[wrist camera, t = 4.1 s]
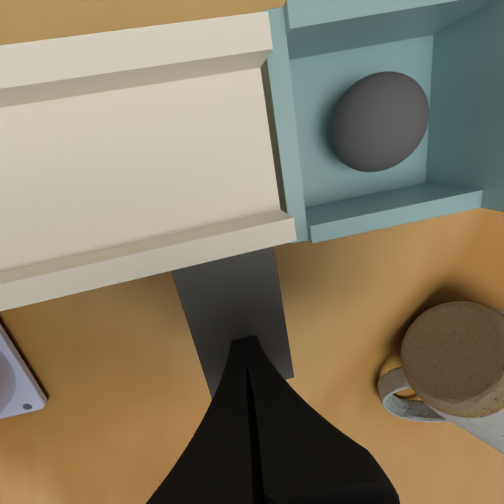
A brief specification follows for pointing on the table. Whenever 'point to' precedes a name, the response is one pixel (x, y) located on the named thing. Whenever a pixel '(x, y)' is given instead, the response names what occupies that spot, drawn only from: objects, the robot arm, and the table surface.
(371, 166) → the ball
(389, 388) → the ceramic mug
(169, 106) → the cream piece
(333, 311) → the table surface
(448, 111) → the bin
